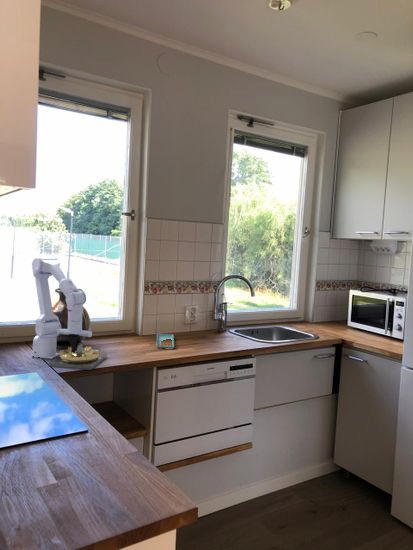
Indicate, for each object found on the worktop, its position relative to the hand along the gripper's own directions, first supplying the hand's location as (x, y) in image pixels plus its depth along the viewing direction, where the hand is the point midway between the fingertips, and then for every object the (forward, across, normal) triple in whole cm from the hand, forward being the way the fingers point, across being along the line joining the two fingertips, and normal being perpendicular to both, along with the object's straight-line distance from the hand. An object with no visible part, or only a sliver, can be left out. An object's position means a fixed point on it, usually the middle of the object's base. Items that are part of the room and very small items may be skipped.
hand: (73, 352), depth 186 cm
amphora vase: (+6, +16, -28) cm, 32 cm away
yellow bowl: (+4, 0, -5) cm, 6 cm away
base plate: (+5, 0, -5) cm, 8 cm away
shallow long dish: (+6, -28, -52) cm, 60 cm away
